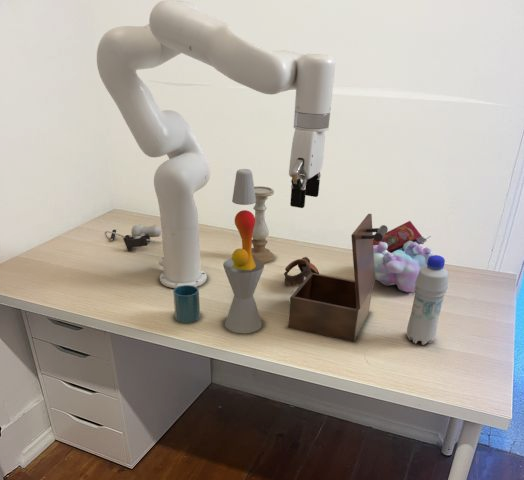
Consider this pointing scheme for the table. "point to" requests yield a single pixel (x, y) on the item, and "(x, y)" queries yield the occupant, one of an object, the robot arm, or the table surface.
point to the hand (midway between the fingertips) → (304, 201)
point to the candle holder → (261, 225)
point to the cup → (186, 303)
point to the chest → (328, 307)
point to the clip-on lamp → (138, 236)
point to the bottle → (428, 300)
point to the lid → (365, 257)
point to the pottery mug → (305, 271)
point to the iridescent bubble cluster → (400, 257)
